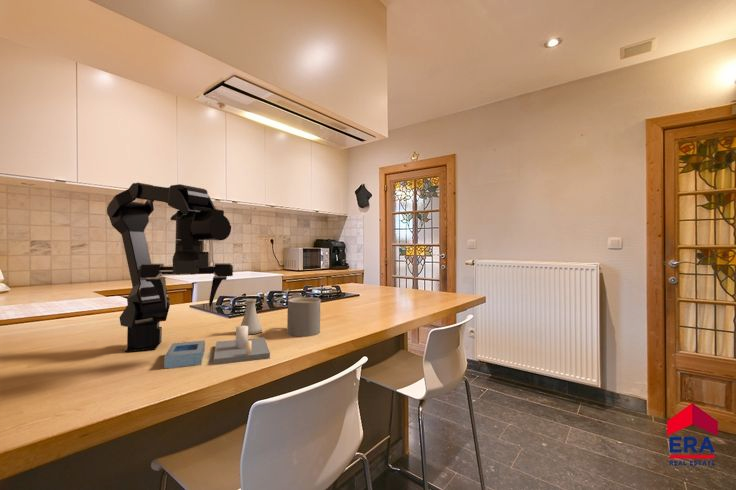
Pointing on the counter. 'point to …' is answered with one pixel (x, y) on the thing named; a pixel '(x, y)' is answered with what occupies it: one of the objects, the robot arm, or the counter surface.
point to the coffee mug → (303, 317)
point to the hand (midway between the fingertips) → (188, 307)
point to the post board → (241, 348)
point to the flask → (251, 318)
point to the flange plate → (184, 354)
